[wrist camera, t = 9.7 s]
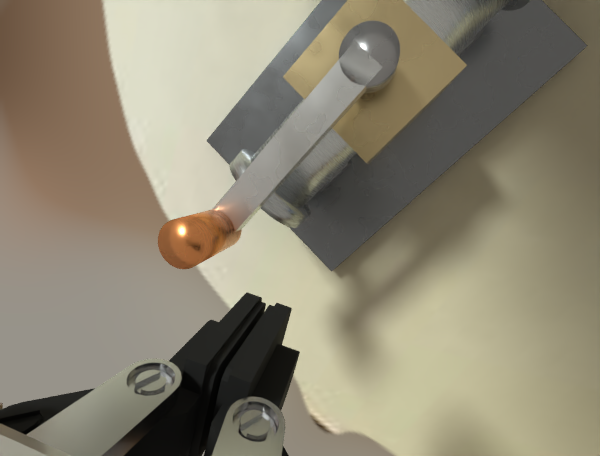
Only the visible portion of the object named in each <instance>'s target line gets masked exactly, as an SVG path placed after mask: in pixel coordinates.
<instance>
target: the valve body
mask: <svg viewBox="0 0 600 456" xmlns="http://www.w3.org/2000/svg"><path fill="white" fill-rule="evenodd" d="M365 21H380V22H383V23H385V24H387V25H389V26H390V27H391V28H392V29H393V30H394V31H395V33H396V35H397V37H398V39H399V43H400V57H399V61H398V65H397V69H396V72H395V75H394V77H393V78H392V80H391V81H390V82H389V83H388V84H387V85H386V86H385V87H384V88H382V89H381V90H379V91H376V92H373V93H364V94H363V95H362V96H361V97H360V98H359V99H358V100H357V102H356V103H355V104H354V105H353V106H352V107H351V108H350V109H349V110H348V112H347V113H346V114H345V115H344V116H343V117H342V118H341V119H340V120H339V122H338V123H337V124H336V125H335V126H334V127H333V128H332V129H331V130H330V132H329V133H328V134H327V135H326V136H325V137H324V138H323V139H322V140H321V142H320V143H319V144H318V145H317V146H316V147H315V148H314V149H313V150H312V152H311V153H310V154H309V155H308V156H307V157H306V158H305V159H304V160H303V161H302V163H301V164H300V165H299V166H298V167H297V168H296V169H295V170H294V171H293V173H292V174H291V175H290V176H289V177H288V178H287V179H286V180H285V181H284V183H283V184H282V185H281V186H280V187H279V188H278V189H277V190H276V191H275V193H274V194H273V195H272V196H271V197H270V198H269V199H268V200H267V201H266V203H265V204H264V205H263V206H262V207H261V209H262V210H263V211H265V212H266V213H267V214H268V215H270V216H271V217H272V218H274V219H275V220H277V221H278V222H280V223H282V224H284V225H286V226H288V227H290V228H291V230H292V231H293V232H294V233H295V234H296V235H297V236H298V237H299V238H300V239H301V240H302V241H303V242H304V243H305V244H306V245H307V246H308V247H309V248H310V249H311V250H312V251H313V253H314V254H315V255H316V256H317V257H318V258H319V259H320V260H321V261H322V262H323V263H324V264H325V265H326V266H327V267H328V268H329V269H330V270H331V271H333V270H334V269H335V268H336V267H337V266H338V265H339V264H340V263H342V262H343V261H344V260H345V259H346V258H347V257H348V256H350V255H351V254H352V253H353V252H354V251H355V250H356V249H357V248H359V247H360V246H361V245H362V244H363V243H364V242H365V241H367V240H368V239H369V238H370V237H371V236H372V235H373V234H374V233H376V232H377V231H378V230H379V229H380V228H381V227H382V226H384V225H385V224H386V223H387V222H388V221H389V220H390V219H391V218H393V217H394V216H395V215H396V214H397V213H398V212H399V211H401V210H402V209H403V208H404V207H405V206H406V205H407V204H409V203H410V202H411V201H412V200H413V199H414V198H415V197H416V196H418V195H419V194H420V193H421V192H422V191H423V190H424V189H426V188H427V187H428V186H429V185H430V184H431V183H432V182H433V181H435V180H436V179H437V178H438V177H439V176H440V175H441V174H443V173H444V172H445V171H446V170H447V169H448V168H449V167H450V166H452V165H453V164H454V163H455V162H456V161H457V160H458V159H460V158H461V157H462V156H463V155H464V154H465V153H466V152H467V151H469V150H470V149H471V148H472V147H473V146H474V145H475V144H477V143H478V142H479V141H480V140H481V139H482V138H483V137H484V136H486V135H487V134H488V133H489V132H490V131H491V130H492V129H494V128H495V127H496V126H497V125H498V124H499V123H500V122H501V121H503V120H504V119H505V118H506V117H507V116H508V115H509V114H511V113H512V112H513V111H514V110H515V109H516V108H517V107H519V106H520V105H521V104H522V103H523V102H524V101H525V100H526V99H528V98H529V97H530V96H531V95H532V94H533V93H534V92H536V91H537V90H538V89H539V88H540V87H541V86H542V85H543V84H545V83H546V82H547V81H548V80H549V79H550V78H551V77H553V76H554V75H555V74H556V73H557V72H558V71H559V70H560V69H562V68H563V67H564V66H565V65H566V64H567V63H568V62H570V61H571V60H572V59H573V58H574V57H575V56H576V55H577V54H579V53H580V52H581V51H582V50H583V49H584V48H585V47H587V45H586V44H585V43H584V42H583V41H582V40H581V39H580V38H579V37H578V36H577V35H576V34H575V33H574V32H573V31H572V30H571V29H570V28H569V27H568V26H567V25H566V24H565V23H564V22H563V21H562V20H561V19H560V18H559V17H558V16H557V15H556V14H555V13H554V12H553V11H552V10H551V9H550V8H549V7H548V6H547V5H546V4H545V3H544V2H543V1H542V0H322V1H321V2H320V3H319V4H318V5H317V7H316V8H315V9H314V10H313V12H312V13H311V14H310V15H309V16H308V18H307V19H306V20H305V21H304V22H303V24H302V25H301V26H300V27H299V29H298V30H297V31H296V32H295V33H294V35H293V36H292V37H291V38H290V40H289V41H288V42H287V43H286V44H285V46H284V47H283V48H282V49H281V51H280V52H279V53H278V54H277V55H276V57H275V58H274V59H273V60H272V61H271V63H270V64H269V65H268V66H267V68H266V69H265V70H264V71H263V72H262V74H261V75H260V76H259V77H258V79H257V80H256V81H255V82H254V83H253V85H252V86H251V87H250V88H249V89H248V91H247V92H246V93H245V94H244V96H243V97H242V98H241V99H240V100H239V102H238V103H237V104H236V105H235V107H234V108H233V109H232V110H231V111H230V113H229V114H228V115H227V116H226V118H225V119H224V120H223V121H222V122H221V124H220V125H219V126H218V127H217V128H216V130H215V131H214V132H213V133H212V135H211V136H210V137H209V138H208V139H207V142H208V143H209V144H210V145H211V146H212V147H213V148H214V149H215V150H216V151H217V152H218V153H219V154H220V155H221V156H222V157H223V158H224V159H225V161H226V162H227V163H228V164H229V165H230V170H231V173H232V175H233V177H234V178H235V180H236V181H237V180H238V178H239V177H240V176H241V175H242V174H243V172H244V171H245V170H246V169H247V168H248V167H249V165H250V164H251V163H252V162H253V161H254V159H255V158H256V157H257V156H258V155H259V154H260V152H261V151H262V150H263V149H264V148H265V146H266V145H267V144H268V143H269V142H270V141H271V139H272V138H273V137H274V136H275V135H276V133H277V132H278V131H279V130H280V129H281V127H282V126H283V125H284V124H285V123H286V122H287V120H288V119H289V118H290V117H291V116H292V114H293V113H294V112H295V111H296V110H297V109H298V107H299V106H300V105H301V104H302V103H303V101H304V100H305V99H306V98H307V97H308V96H309V94H310V93H311V92H312V91H313V90H314V88H315V87H316V86H317V85H318V84H319V82H320V81H321V80H322V79H323V78H324V77H325V75H326V74H327V73H328V72H329V71H330V69H331V68H332V67H333V66H334V65H335V64H336V62H337V61H338V60H339V49H340V46H341V43H342V41H343V39H344V37H345V36H346V34H347V33H348V32H349V31H350V30H351V29H352V28H353V27H355V26H356V25H358V24H360V23H362V22H365Z"/></svg>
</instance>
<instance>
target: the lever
mask: <svg viewBox="0 0 600 456" xmlns="http://www.w3.org/2000/svg"><path fill="white" fill-rule="evenodd" d="M399 57H400V43H399V39H398V37H397V35H396V33H395V31H394V30H393V29H392V28H391V27H390V26H389V25H387V24H385V23H383V22H380V21H365V22H362V23H360V24H358V25H356V26H355V27H353V28H352V29H351V30H350V31H349V32H348V33H347V34H346V36H345V37H344V39H343V41H342V43H341V46H340V49H339V60H338V61H337V62H336V64H335V65H334V66H333V67H332V68H331V69H330V71H329V72H328V73H327V74H326V75H325V77H324V78H323V79H322V80H321V81H320V82H319V84H318V85H317V86H316V87H315V88H314V90H313V91H312V92H311V93H310V94H309V96H308V97H307V98H306V99H305V100H304V101H303V103H302V104H301V105H300V106H299V107H298V109H297V110H296V111H295V112H294V113H293V114H292V116H291V117H290V118H289V119H288V120H287V122H286V123H285V124H284V125H283V126H282V127H281V129H280V130H279V131H278V132H277V133H276V135H275V136H274V137H273V138H272V139H271V141H270V142H269V143H268V144H267V145H266V146H265V148H264V149H263V150H262V151H261V152H260V154H259V155H258V156H257V157H256V158H255V159H254V161H253V162H252V163H251V164H250V165H249V167H248V168H247V169H246V170H245V171H244V172H243V174H242V175H241V176H240V177H239V178H238V180H237V181H236V182H235V183H234V184H233V186H232V187H231V188H230V189H229V190H228V191H227V193H226V194H225V195H224V196H223V197H222V199H221V200H220V201H219V202H218V203H217V204H216V206H215V207H214V208H213V209H212V210H208V211H205V212H201V213H197V214H193V215H189V216H185V217H181V218H178V219H174V220H171V221H169V222H167V223H166V224H165V225H164V226H163V227H162V228H161V230H160V232H159V236H158V246H159V250H160V252H161V254H162V256H163V258H164V259H165V260H166V261H167V262H168V263H169V264H170V265H172V266H174V267H176V268H179V269H189V268H192V267H194V266H196V265H198V264H199V263H201V262H203V261H205V260H207V259H209V258H210V257H212V256H214V255H216V254H218V253H219V252H221V251H223V250H225V249H227V248H228V247H230V246H232V245H234V244H235V243H236V242H237V241H238V240H239V238H240V235H241V229H242V228H243V227H244V226H245V225H246V224H247V223H248V221H249V220H250V219H251V218H252V217H253V216H254V215H255V214H256V213H257V211H258V210H259V209H260V208H261V207H262V206H263V205H264V204H265V203H266V201H267V200H268V199H269V198H270V197H271V196H272V195H273V194H274V193H275V191H276V190H277V189H278V188H279V187H280V186H281V185H282V184H283V183H284V181H285V180H286V179H287V178H288V177H289V176H290V175H291V174H292V173H293V171H294V170H295V169H296V168H297V167H298V166H299V165H300V164H301V163H302V161H303V160H304V159H305V158H306V157H307V156H308V155H309V154H310V153H311V152H312V150H313V149H314V148H315V147H316V146H317V145H318V144H319V143H320V142H321V140H322V139H323V138H324V137H325V136H326V135H327V134H328V133H329V132H330V130H331V129H332V128H333V127H334V126H335V125H336V124H337V123H338V122H339V120H340V119H341V118H342V117H343V116H344V115H345V114H346V113H347V112H348V110H349V109H350V108H351V107H352V106H353V105H354V104H355V103H356V102H357V100H358V99H359V98H360V97H361V96H362V95H363V94H364V93H373V92H376V91H379V90H381V89H382V88H384V87H385V86H386V85H387V84H388V83H389V82H390V81H391V80H392V78H393V77H394V75H395V72H396V69H397V65H398V61H399Z"/></svg>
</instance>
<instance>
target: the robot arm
mask: <svg viewBox="0 0 600 456" xmlns="http://www.w3.org/2000/svg"><path fill="white" fill-rule="evenodd" d="M261 301H262V298H261V297H258V296H255V295H252V294H250V293H246V294H245V295H244V296H243V297H242V298H241V299H240V300H239V301H238V302H237V303H236V304H235V306H234V307H233V308H232V309H231V310H230V311H229V312H228V313H227V314H226V315H225V317H224V318H223V319H222V320H221V321H220V322H216V321H214V320H210V321H208V322H207V323H206V324H205V325H204V326H203V327H202V328H201V329H200V330H199V331H198V332H197V333H196V334H195V335H194V336H193V337H192V338H191V339H190V340H189V341H188V342H187V343H186V344H185V345H184V346H183V347H182V348H181V349H180V350H179V351H178V352H177V353H176V355H174V356H173V357H172V358H171V359H170V360H169V361H167V360H162V359H146V360H142V361H138V362H136V363H134V364H132V365H130V366H129V367H127V368H126V369H124V370H123V371H121V372H120V373H118V374H117V375H115V376H114V377H112V378H111V379H109V380H108V381H106V382H105V383H103V384H102V385H100V386H99V387H97V388H95V389H90V390H84V391H79V392H74V393H69V394H64V395H58V396H53V397H48V398H43V399H37V400H32V401H27V402H22V403H18V404H15V405H11V406H8V407H7V408H4V409H3V405H2V404H3V403H0V456H202V454H203V452H204V451H205V454H204V456H288V454H287V452H286V450H285V448H284V447H283V441H284V433H285V419H284V417H283V414H282V412H281V409H282V407H283V404H284V401H285V398H286V395H287V392H288V389H289V386H290V383H291V380H292V377H293V374H294V370H295V367H296V363H297V360H298V357H299V353H300V352H299V351H296V350H293V349H291V348H288V347H285V346H282V342H283V339H284V335H285V331H286V328H287V324H288V321H289V317H290V313H291V308H290V307H287V306H284V305H282V304H279V303H276V304H275V306H272V305H269V306H268V308H267V309H266V311H265V312H264V310H265V306H266V303H263V302H261Z"/></svg>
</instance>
